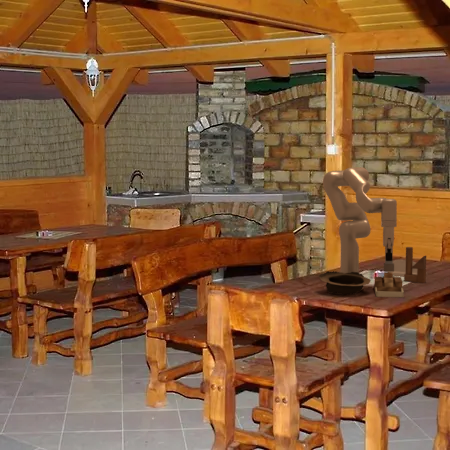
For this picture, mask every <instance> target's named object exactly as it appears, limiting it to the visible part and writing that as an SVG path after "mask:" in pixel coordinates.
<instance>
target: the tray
mask: <svg viewBox="0 0 450 450" xmlns="http://www.w3.org/2000/svg"><path fill="white" fill-rule="evenodd" d="M374 294H375V298H376V297H378V298H404V297H405V292H404V288H403V287H402V288H401V292H387V291H377V287H375V288H374Z"/></svg>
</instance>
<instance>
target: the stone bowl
mask: <svg viewBox="0 0 450 450" xmlns="http://www.w3.org/2000/svg"><path fill="white" fill-rule="evenodd" d="M318 278H319V279H320V280H321V282H325V283H326V284H325V287H326V291H327V292H328V293H329V294H335V295H336V294H338V295H341V296H346V295H348V296H350V295H356V294H357V293H359V292H361V291H362V290H363V288H364V286H366V285H370V283H371V279H370V278H367V277H365V276H364V275H363V274H362V273H361V272H359V273H358V272H351V273H340V271H335V270H334V271H326V272H323V273H320V274H318Z"/></svg>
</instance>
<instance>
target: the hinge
mask: <svg viewBox="0 0 450 450" xmlns="http://www.w3.org/2000/svg"><path fill="white" fill-rule="evenodd" d="M393 263H394V272H392V273H393V275H394V276H393V277H399V276H400V277H401V278H402V277H403V278H404V274H405V270H406V259H395V260H393ZM416 263H417V262H415V261H413V266H414V265H415V264H416ZM412 274H416V275H417V269H413V268H412Z"/></svg>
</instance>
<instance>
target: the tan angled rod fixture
mask: <svg viewBox="0 0 450 450" xmlns="http://www.w3.org/2000/svg"><path fill="white" fill-rule="evenodd" d="M413 251H414V248H413V247H412V246H406V247H405V260H406V270H405V274H404V277H403V281H404V282H408V283H409V282H410V283H419V284H420V283H421V284H424V283H426V282H427V281H426V280H427V279H426V278H427V255H423V256H422V257H421V258H420V259H419V260H418V261H417V262H416V264H415V265H414V266H413V262H414V260H413V257H414V256H413V255H414V252H413ZM412 268H413V269H417V275H416V274H412Z"/></svg>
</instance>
